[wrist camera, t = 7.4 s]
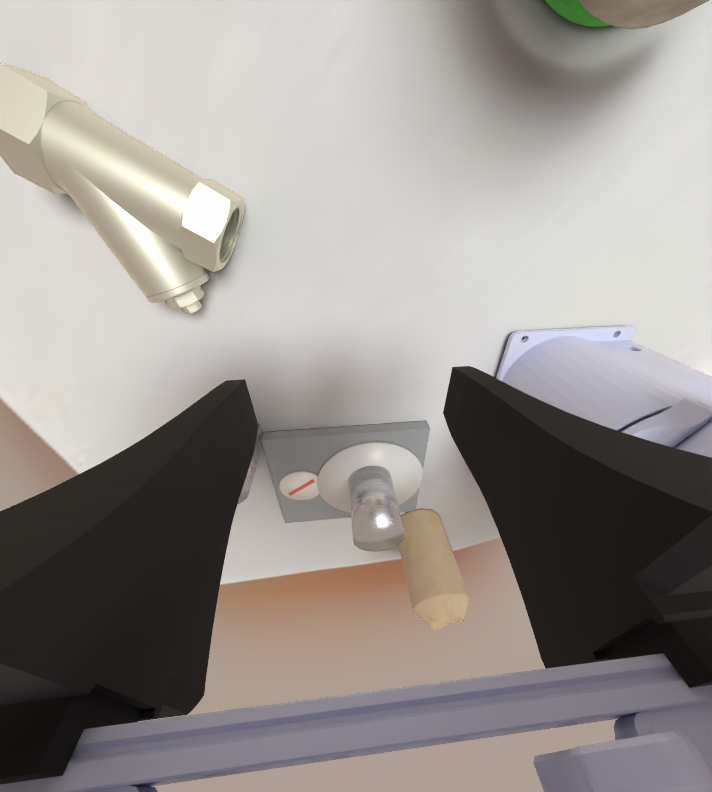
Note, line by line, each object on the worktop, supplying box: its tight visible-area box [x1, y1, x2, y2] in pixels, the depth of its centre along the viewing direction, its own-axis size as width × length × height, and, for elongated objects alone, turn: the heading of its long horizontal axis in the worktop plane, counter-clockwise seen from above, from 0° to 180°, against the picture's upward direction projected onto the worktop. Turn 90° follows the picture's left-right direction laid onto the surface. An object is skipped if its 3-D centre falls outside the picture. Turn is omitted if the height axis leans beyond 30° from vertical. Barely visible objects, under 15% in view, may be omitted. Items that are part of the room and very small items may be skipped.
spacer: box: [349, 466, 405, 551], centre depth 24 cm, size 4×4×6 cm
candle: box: [399, 509, 470, 630], centre depth 29 cm, size 6×6×10 cm
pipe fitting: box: [0, 63, 244, 314], centre depth 13 cm, size 8×4×7 cm
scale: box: [261, 421, 430, 523], centre depth 27 cm, size 14×12×1 cm
